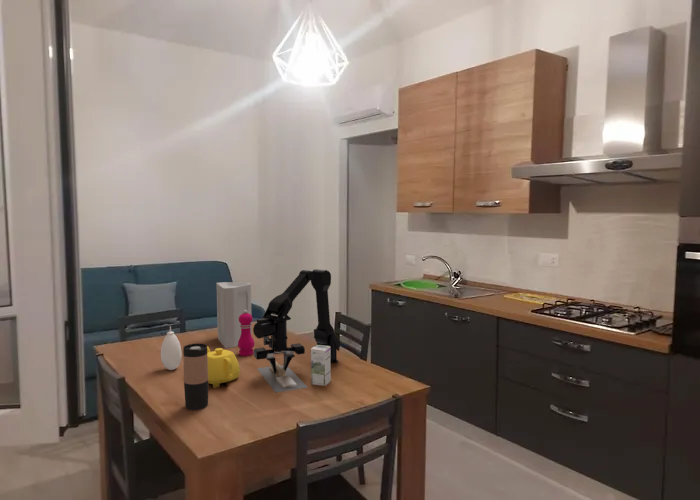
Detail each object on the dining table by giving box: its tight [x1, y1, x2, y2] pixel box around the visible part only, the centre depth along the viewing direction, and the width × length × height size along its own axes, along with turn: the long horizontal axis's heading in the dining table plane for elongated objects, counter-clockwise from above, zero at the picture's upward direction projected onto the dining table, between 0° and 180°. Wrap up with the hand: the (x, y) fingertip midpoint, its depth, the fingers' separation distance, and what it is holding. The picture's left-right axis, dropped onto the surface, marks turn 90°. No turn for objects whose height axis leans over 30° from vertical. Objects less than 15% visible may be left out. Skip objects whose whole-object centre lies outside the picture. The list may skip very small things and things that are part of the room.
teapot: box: [207, 345, 241, 389], centre depth 186 cm, size 14×20×13 cm
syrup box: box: [310, 344, 332, 387], centre depth 181 cm, size 6×6×14 cm
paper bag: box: [216, 281, 253, 349], centre depth 240 cm, size 19×15×28 cm
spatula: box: [269, 361, 297, 389], centre depth 187 cm, size 5×24×3 cm, turn 24°
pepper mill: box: [237, 310, 255, 357], centre depth 219 cm, size 7×7×20 cm
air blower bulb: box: [160, 325, 183, 371], centre depth 199 cm, size 8×8×18 cm
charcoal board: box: [256, 364, 309, 393], centre depth 187 cm, size 12×28×1 cm, turn 24°
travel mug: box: [182, 343, 209, 411], centre depth 162 cm, size 8×8×20 cm
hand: (279, 373), depth 188 cm, fingers open, 3 cm apart
